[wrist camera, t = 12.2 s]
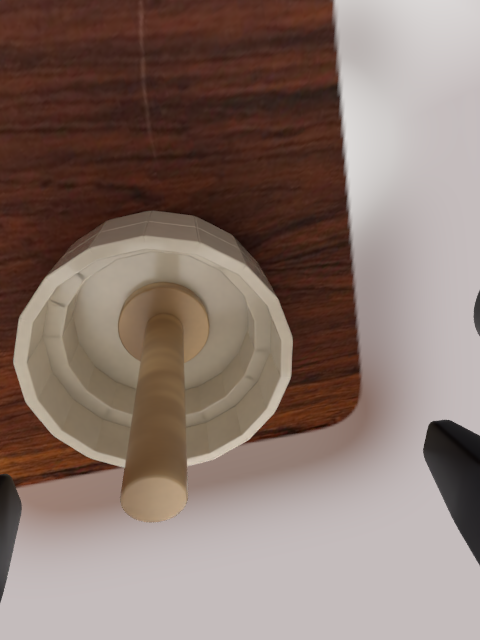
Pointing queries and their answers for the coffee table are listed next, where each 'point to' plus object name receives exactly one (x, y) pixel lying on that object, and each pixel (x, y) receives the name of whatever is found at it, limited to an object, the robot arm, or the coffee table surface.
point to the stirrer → (159, 396)
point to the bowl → (123, 369)
